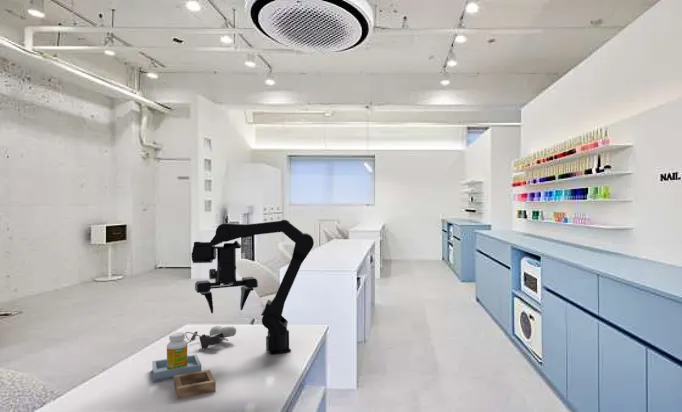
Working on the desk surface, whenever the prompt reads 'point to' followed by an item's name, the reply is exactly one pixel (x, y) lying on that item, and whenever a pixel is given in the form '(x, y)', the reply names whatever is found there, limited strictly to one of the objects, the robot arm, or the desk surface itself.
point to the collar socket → (190, 387)
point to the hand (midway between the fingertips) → (226, 311)
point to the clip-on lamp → (214, 335)
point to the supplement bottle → (176, 351)
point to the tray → (163, 374)
